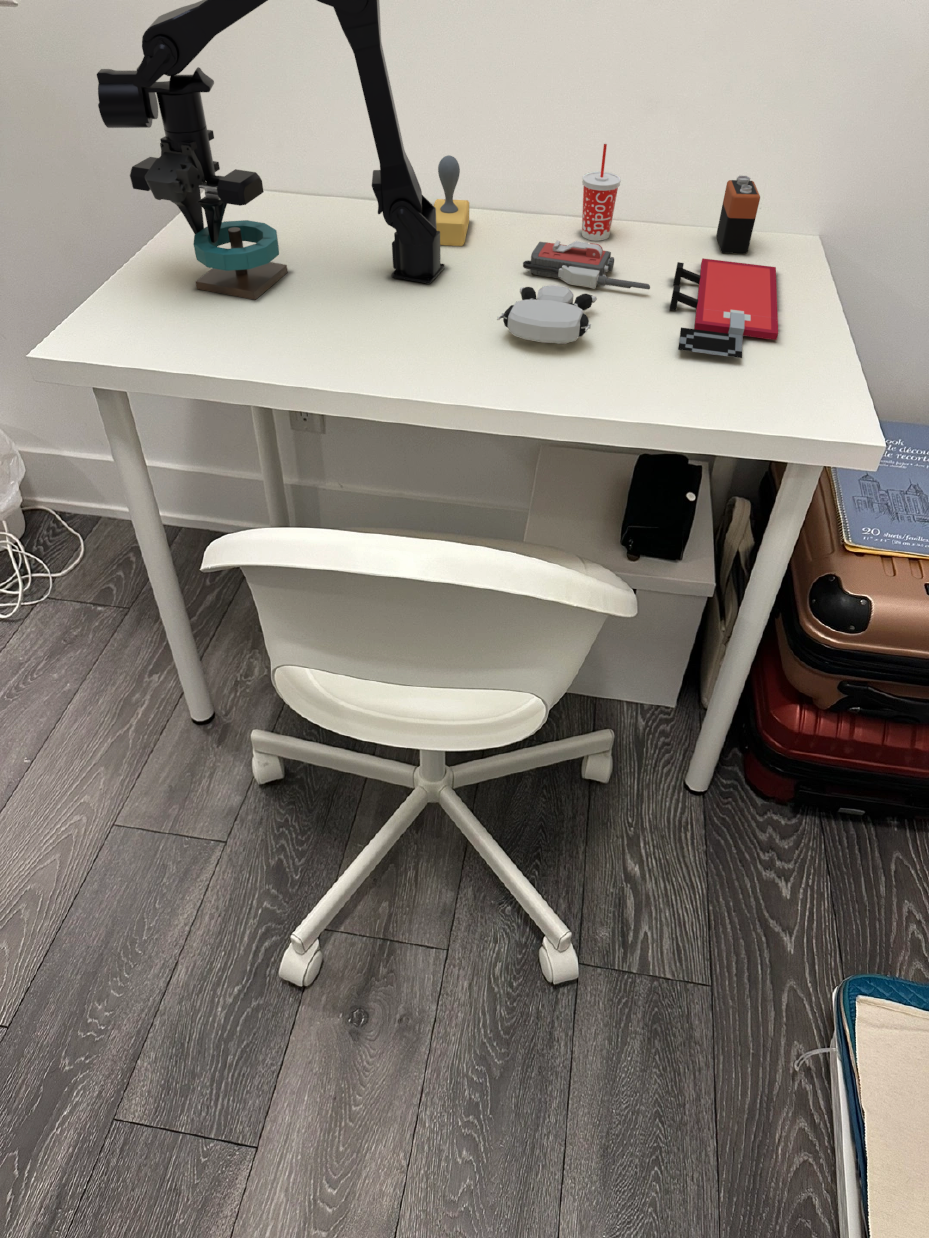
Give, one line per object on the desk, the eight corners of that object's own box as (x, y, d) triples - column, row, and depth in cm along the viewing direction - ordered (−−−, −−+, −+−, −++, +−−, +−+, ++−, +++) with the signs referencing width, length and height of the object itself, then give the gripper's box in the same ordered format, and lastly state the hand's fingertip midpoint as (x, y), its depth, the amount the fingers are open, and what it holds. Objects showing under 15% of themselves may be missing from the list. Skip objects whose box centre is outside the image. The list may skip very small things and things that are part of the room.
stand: (287, 272, 138) (280, 221, 133) (255, 300, 132) (246, 248, 126) (231, 262, 141) (222, 212, 135) (196, 289, 134) (185, 237, 129)
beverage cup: (574, 240, 147) (583, 149, 137) (579, 226, 151) (588, 136, 141) (611, 244, 146) (623, 152, 136) (615, 229, 150) (626, 139, 140)
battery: (741, 237, 148) (755, 174, 141) (747, 255, 144) (762, 190, 136) (715, 237, 149) (728, 173, 141) (720, 254, 144) (734, 189, 137)
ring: (293, 243, 136) (291, 227, 134) (253, 276, 128) (250, 259, 126) (224, 231, 138) (221, 216, 137) (181, 263, 131) (177, 246, 129)
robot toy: (516, 306, 132) (494, 347, 121) (518, 275, 129) (495, 314, 118) (598, 316, 130) (583, 359, 119) (602, 285, 127) (587, 326, 116)
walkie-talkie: (517, 279, 137) (647, 299, 132) (519, 251, 134) (651, 270, 129) (533, 256, 143) (657, 275, 138) (535, 228, 140) (662, 246, 135)
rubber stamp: (435, 220, 153) (434, 145, 144) (469, 222, 152) (470, 146, 144) (428, 244, 146) (427, 166, 137) (464, 246, 145) (464, 168, 137)
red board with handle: (662, 354, 120) (776, 369, 118) (666, 334, 118) (782, 350, 116) (676, 264, 141) (773, 276, 139) (679, 246, 139) (778, 258, 137)
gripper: (91, 136, 119) (123, 252, 131) (212, 154, 115) (234, 272, 126) (140, 112, 127) (166, 224, 138) (256, 128, 122) (273, 242, 133)
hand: (208, 241), depth 134 cm, fingers closed on ring, 2 cm apart
